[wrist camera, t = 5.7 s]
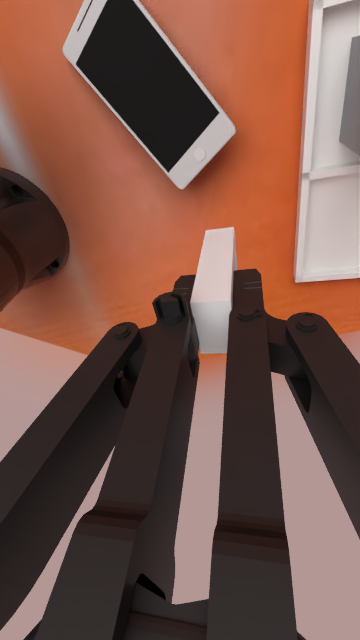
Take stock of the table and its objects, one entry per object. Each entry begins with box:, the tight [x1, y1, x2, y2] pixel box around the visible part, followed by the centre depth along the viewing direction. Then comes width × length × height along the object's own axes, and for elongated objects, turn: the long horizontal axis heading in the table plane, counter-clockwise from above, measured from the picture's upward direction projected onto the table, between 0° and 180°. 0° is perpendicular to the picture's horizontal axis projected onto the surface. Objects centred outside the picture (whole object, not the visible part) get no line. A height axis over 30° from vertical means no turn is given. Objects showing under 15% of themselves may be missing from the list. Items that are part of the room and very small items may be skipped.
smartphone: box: [62, 0, 236, 189], centre depth 26 cm, size 7×15×1 cm, turn 47°
